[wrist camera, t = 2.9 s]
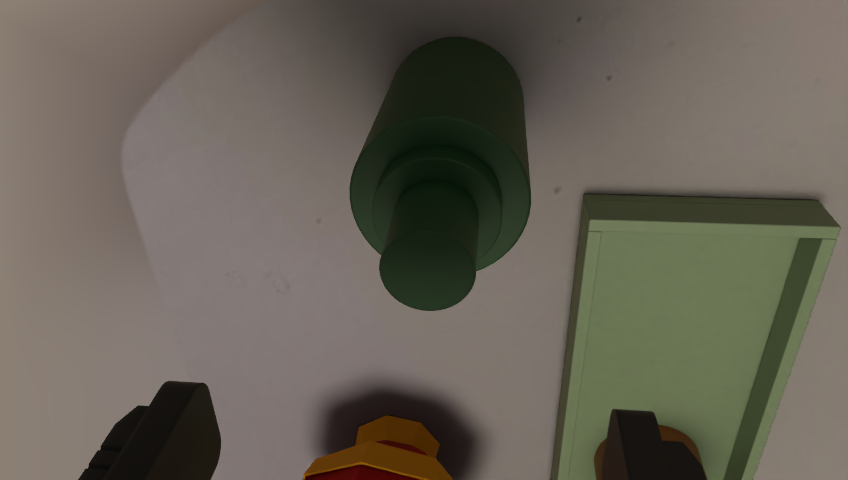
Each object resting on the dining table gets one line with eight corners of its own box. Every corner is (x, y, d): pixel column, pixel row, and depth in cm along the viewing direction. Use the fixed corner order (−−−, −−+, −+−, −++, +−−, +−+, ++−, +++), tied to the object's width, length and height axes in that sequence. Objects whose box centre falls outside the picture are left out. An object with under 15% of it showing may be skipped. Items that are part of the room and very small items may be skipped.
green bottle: (361, 103, 29) (277, 267, 18) (455, 6, 27) (424, 128, 16) (455, 189, 31) (429, 386, 20) (551, 106, 29) (582, 278, 18)
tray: (583, 193, 31) (589, 219, 28) (818, 199, 30) (841, 227, 28) (539, 574, 46) (541, 609, 44) (693, 587, 45) (702, 623, 43)
